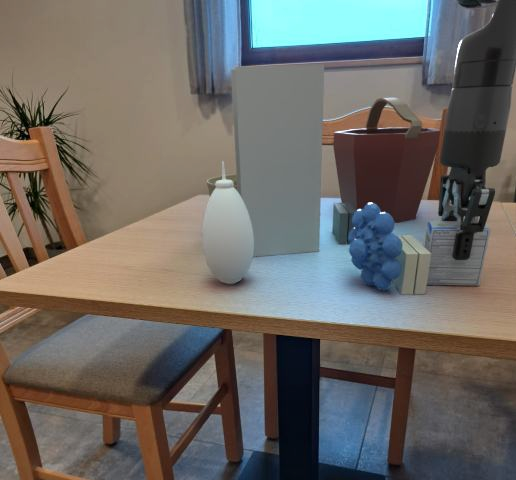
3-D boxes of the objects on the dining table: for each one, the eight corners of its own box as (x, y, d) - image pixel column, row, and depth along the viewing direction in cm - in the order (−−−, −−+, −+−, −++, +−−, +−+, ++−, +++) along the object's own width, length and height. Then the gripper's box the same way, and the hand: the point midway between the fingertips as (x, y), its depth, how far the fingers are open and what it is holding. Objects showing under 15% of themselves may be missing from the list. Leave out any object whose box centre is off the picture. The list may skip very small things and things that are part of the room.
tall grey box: (311, 243, 91) (315, 67, 77) (319, 251, 86) (324, 64, 72) (240, 249, 89) (230, 69, 75) (244, 257, 85) (235, 67, 71)
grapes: (326, 278, 73) (328, 201, 67) (361, 272, 75) (367, 196, 70) (369, 304, 64) (377, 215, 58) (409, 295, 66) (419, 209, 60)
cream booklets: (407, 271, 75) (411, 234, 72) (425, 294, 66) (431, 253, 63) (386, 272, 75) (389, 235, 72) (401, 294, 66) (406, 254, 63)
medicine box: (472, 277, 72) (483, 220, 67) (479, 287, 68) (491, 228, 64) (419, 275, 73) (427, 220, 69) (423, 285, 69) (431, 227, 65)
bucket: (434, 228, 99) (452, 95, 87) (329, 227, 102) (334, 100, 90) (417, 205, 120) (431, 96, 108) (331, 205, 123) (335, 99, 112)
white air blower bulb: (211, 274, 77) (201, 158, 69) (257, 274, 76) (253, 157, 68) (201, 291, 70) (189, 164, 62) (252, 291, 69) (246, 163, 61)
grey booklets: (348, 231, 99) (349, 202, 96) (355, 243, 90) (357, 212, 87) (332, 231, 99) (333, 202, 96) (338, 244, 90) (339, 213, 87)
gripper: (531, 128, 54) (500, 268, 62) (482, 123, 66) (461, 240, 74) (466, 130, 54) (444, 270, 62) (429, 125, 67) (414, 241, 75)
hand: (453, 253), depth 68 cm, fingers closed on medicine box, 5 cm apart
